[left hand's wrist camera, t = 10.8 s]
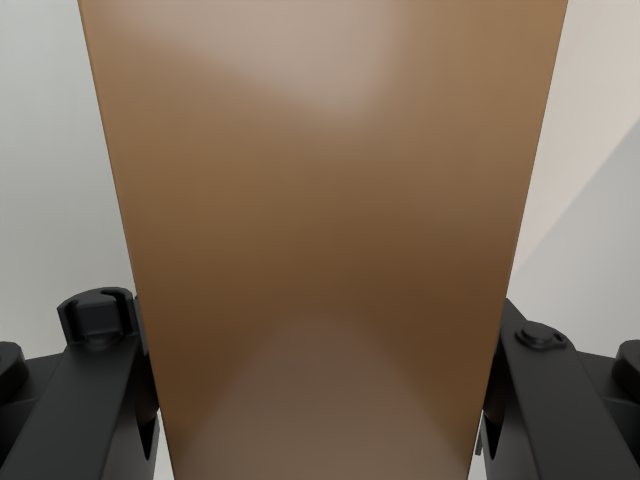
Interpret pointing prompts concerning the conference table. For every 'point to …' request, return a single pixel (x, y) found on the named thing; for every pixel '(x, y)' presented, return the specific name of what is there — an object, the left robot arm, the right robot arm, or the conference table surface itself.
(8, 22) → the conference table surface
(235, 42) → the bar
